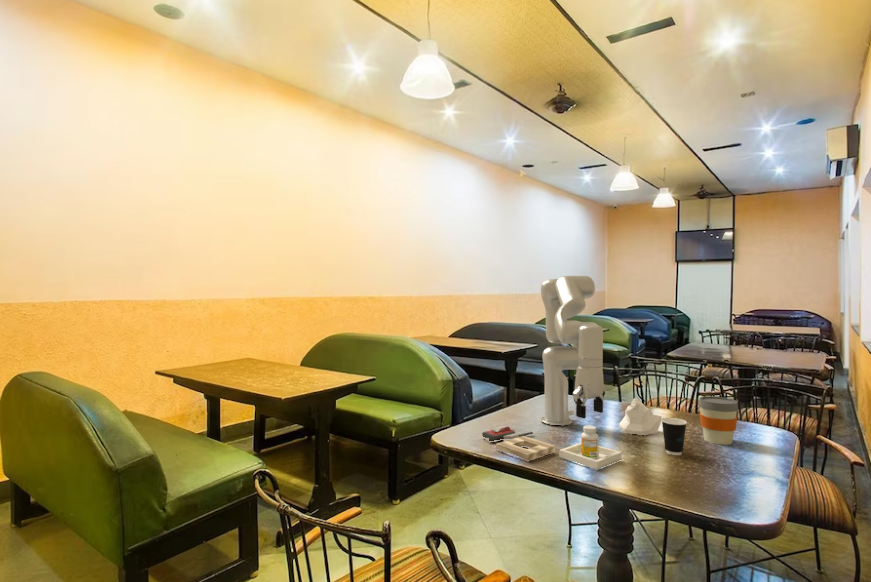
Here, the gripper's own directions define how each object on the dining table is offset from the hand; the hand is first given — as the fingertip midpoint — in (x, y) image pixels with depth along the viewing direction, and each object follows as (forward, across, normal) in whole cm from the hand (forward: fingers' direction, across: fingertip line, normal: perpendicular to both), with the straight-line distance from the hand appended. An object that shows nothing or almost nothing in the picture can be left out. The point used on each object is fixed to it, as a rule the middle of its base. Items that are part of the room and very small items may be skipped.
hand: (589, 414), depth 157 cm
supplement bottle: (+14, 0, +1) cm, 14 cm away
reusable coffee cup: (+15, -53, +19) cm, 59 cm away
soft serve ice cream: (+16, -41, -5) cm, 44 cm away
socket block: (+15, +12, -17) cm, 25 cm away
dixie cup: (+15, -27, +15) cm, 34 cm away
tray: (+14, +1, +1) cm, 15 cm away
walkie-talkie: (+16, +5, -32) cm, 36 cm away
